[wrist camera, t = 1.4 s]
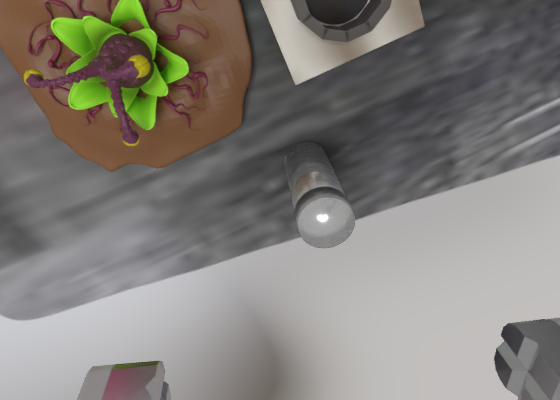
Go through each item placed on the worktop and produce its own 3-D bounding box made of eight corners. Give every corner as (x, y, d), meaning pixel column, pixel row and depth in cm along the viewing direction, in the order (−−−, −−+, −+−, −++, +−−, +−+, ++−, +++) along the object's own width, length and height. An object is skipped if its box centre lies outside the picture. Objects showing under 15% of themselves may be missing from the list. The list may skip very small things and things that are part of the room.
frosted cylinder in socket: (318, 133, 40) (345, 189, 30) (333, 170, 42) (363, 235, 32) (276, 151, 41) (287, 213, 30) (293, 187, 43) (309, 257, 32)
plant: (277, 126, 40) (288, 176, 30) (93, 181, 41) (47, 246, 31) (204, -121, 30) (185, -166, 20) (-36, -39, 31) (-161, -44, 21)
